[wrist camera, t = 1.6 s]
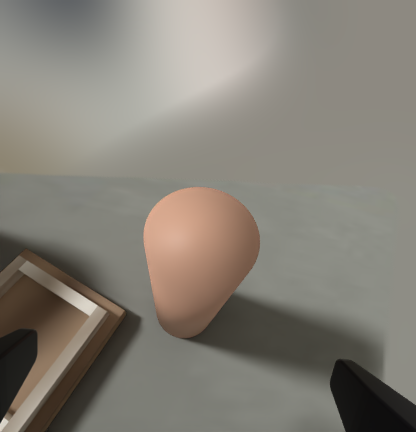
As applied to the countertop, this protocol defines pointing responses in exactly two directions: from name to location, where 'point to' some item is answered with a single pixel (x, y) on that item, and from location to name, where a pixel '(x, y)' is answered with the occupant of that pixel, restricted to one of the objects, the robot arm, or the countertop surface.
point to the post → (197, 256)
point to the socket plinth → (51, 335)
